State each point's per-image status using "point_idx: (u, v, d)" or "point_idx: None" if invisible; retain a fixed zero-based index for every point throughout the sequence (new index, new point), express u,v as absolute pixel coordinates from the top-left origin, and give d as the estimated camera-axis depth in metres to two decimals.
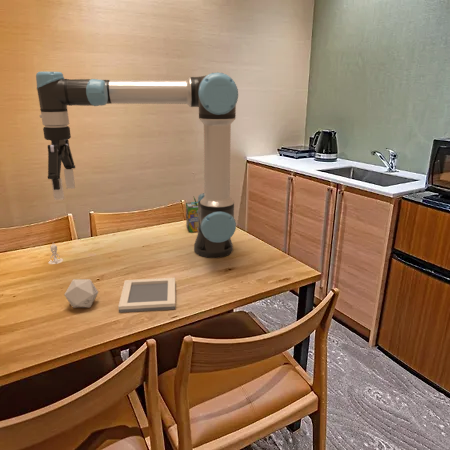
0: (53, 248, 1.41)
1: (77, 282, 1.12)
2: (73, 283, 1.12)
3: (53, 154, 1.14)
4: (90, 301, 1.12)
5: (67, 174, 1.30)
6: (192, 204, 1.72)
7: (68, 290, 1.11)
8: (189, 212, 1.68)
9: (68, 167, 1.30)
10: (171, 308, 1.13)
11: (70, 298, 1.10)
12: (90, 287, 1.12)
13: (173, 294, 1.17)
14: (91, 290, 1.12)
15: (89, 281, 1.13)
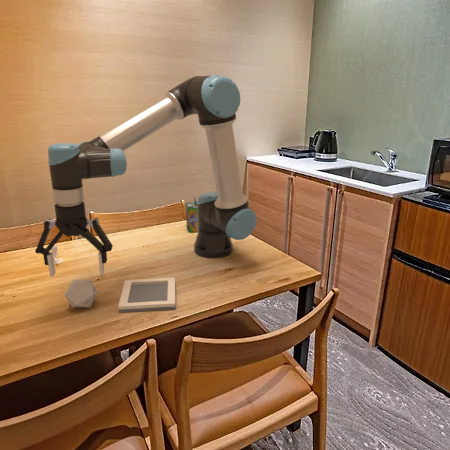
0: (53, 248, 1.41)
1: (77, 282, 1.12)
2: (73, 283, 1.12)
3: None
4: (90, 301, 1.12)
5: None
6: (192, 204, 1.72)
7: (68, 290, 1.11)
8: (189, 212, 1.68)
9: None
10: (171, 308, 1.13)
11: (70, 298, 1.10)
12: (90, 287, 1.12)
13: (173, 294, 1.17)
14: (91, 290, 1.12)
15: (89, 281, 1.13)
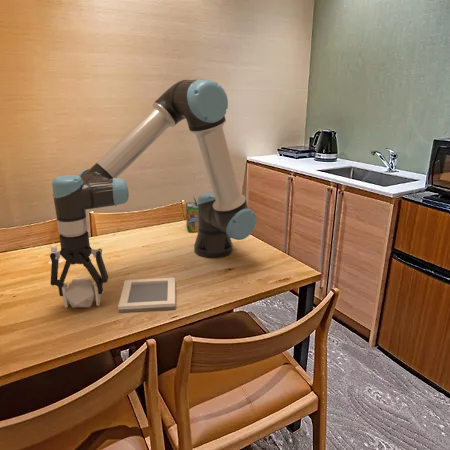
0: (53, 248, 1.41)
1: (77, 282, 1.12)
2: (72, 283, 1.12)
3: None
4: (90, 301, 1.12)
5: None
6: (192, 204, 1.72)
7: (68, 290, 1.11)
8: (189, 212, 1.68)
9: None
10: (171, 308, 1.13)
11: (70, 298, 1.10)
12: (90, 287, 1.12)
13: (173, 294, 1.17)
14: (91, 290, 1.12)
15: (89, 281, 1.13)
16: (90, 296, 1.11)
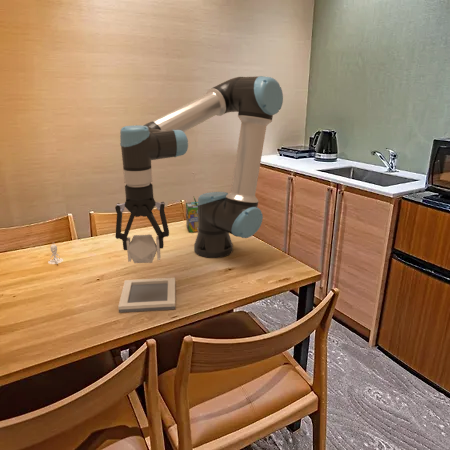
0: (53, 248, 1.41)
1: (140, 237, 1.12)
2: (135, 239, 1.12)
3: (117, 214, 1.09)
4: (153, 256, 1.13)
5: None
6: (192, 204, 1.72)
7: (131, 245, 1.11)
8: (189, 212, 1.68)
9: None
10: (171, 308, 1.13)
11: (134, 253, 1.11)
12: (152, 242, 1.13)
13: (173, 294, 1.17)
14: (154, 245, 1.12)
15: (150, 236, 1.14)
16: (154, 251, 1.12)
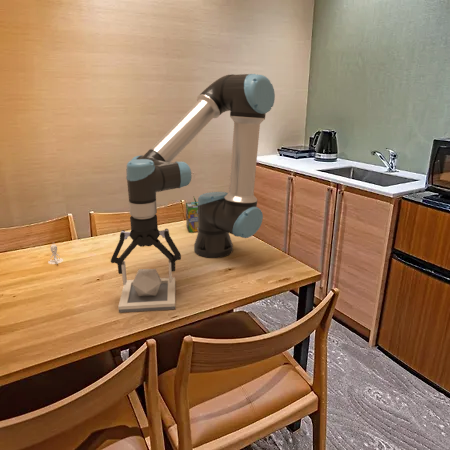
0: (53, 248, 1.41)
1: (144, 272, 1.16)
2: (140, 273, 1.16)
3: (119, 240, 1.12)
4: (157, 289, 1.17)
5: None
6: (192, 204, 1.72)
7: (136, 279, 1.15)
8: (189, 212, 1.68)
9: None
10: (171, 308, 1.13)
11: (139, 287, 1.15)
12: (156, 276, 1.17)
13: (173, 294, 1.17)
14: (158, 279, 1.16)
15: (155, 270, 1.18)
16: (157, 285, 1.16)
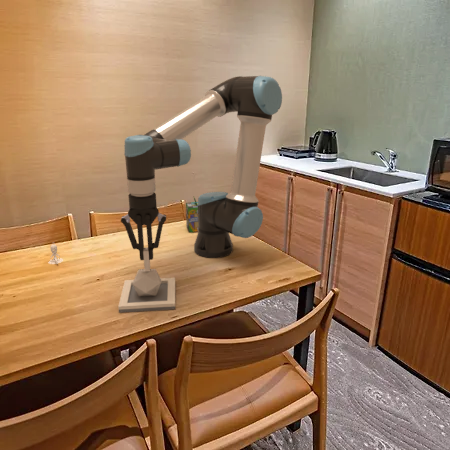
0: (53, 248, 1.41)
1: (144, 272, 1.16)
2: (140, 273, 1.16)
3: None
4: (157, 289, 1.17)
5: None
6: (192, 204, 1.72)
7: (136, 279, 1.15)
8: (189, 212, 1.68)
9: (148, 247, 1.14)
10: (171, 308, 1.13)
11: (139, 287, 1.15)
12: (156, 276, 1.17)
13: (173, 294, 1.17)
14: (158, 279, 1.16)
15: (155, 270, 1.18)
16: (157, 285, 1.16)
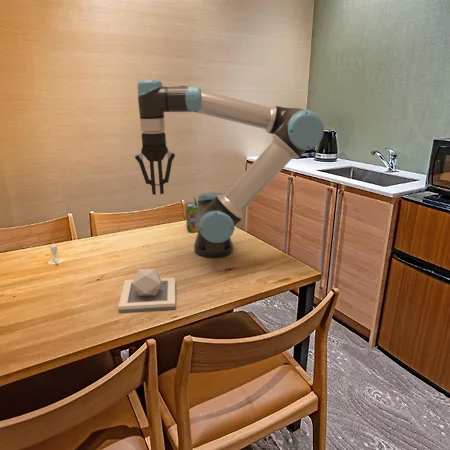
0: (53, 248, 1.41)
1: (144, 272, 1.16)
2: (140, 273, 1.16)
3: (139, 163, 1.26)
4: (157, 289, 1.17)
5: None
6: (192, 204, 1.72)
7: (136, 279, 1.15)
8: (189, 212, 1.68)
9: (159, 183, 1.29)
10: (171, 308, 1.13)
11: (139, 287, 1.15)
12: (156, 276, 1.17)
13: (173, 294, 1.17)
14: (158, 279, 1.16)
15: (155, 270, 1.18)
16: (157, 285, 1.16)
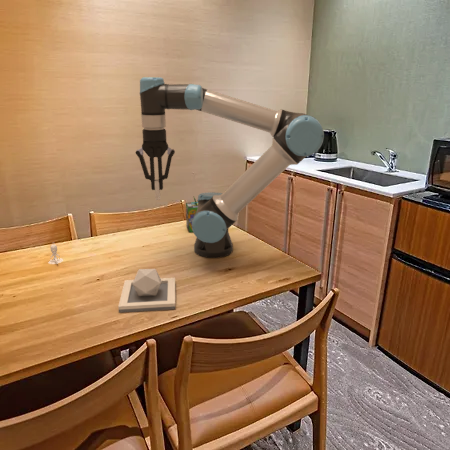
0: (53, 248, 1.41)
1: (144, 272, 1.16)
2: (140, 273, 1.16)
3: (139, 158, 1.28)
4: (157, 289, 1.17)
5: None
6: (192, 204, 1.72)
7: (136, 279, 1.15)
8: (189, 212, 1.68)
9: None
10: (171, 308, 1.13)
11: (139, 287, 1.15)
12: (156, 276, 1.17)
13: (173, 294, 1.17)
14: (158, 279, 1.16)
15: (155, 270, 1.18)
16: (157, 285, 1.16)
